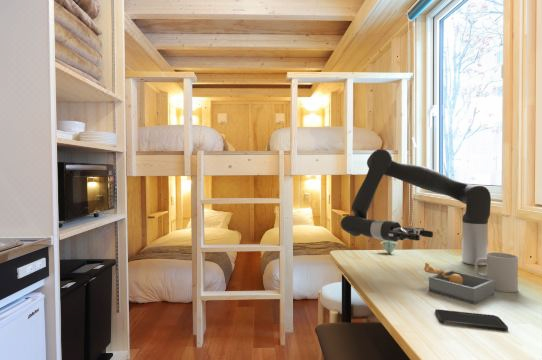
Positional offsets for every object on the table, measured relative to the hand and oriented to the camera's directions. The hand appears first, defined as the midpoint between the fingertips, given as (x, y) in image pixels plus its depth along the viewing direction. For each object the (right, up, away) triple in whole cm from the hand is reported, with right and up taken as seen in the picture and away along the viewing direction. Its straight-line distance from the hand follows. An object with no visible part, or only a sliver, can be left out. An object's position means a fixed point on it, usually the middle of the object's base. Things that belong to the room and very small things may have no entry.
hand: (426, 235), depth 115 cm
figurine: (+7, -15, -9) cm, 19 cm away
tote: (+7, -17, -10) cm, 20 cm away
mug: (+21, -17, -4) cm, 27 cm away
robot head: (+3, -16, +44) cm, 47 cm away
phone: (-3, -17, -30) cm, 35 cm away
